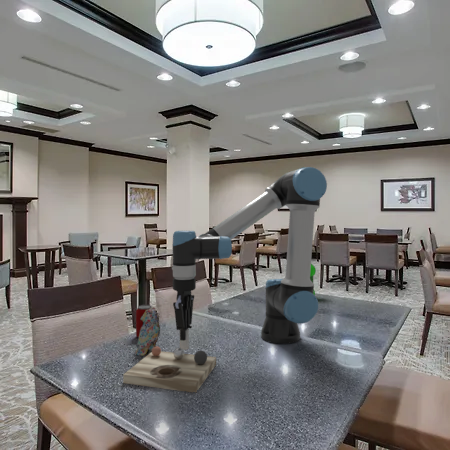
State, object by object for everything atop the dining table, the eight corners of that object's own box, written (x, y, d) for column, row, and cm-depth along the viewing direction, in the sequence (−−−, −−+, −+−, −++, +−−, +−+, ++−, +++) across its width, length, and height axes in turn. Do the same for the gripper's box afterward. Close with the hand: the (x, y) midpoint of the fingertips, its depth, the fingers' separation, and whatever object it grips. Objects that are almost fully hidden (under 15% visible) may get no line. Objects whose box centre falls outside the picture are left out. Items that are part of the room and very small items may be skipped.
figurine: (133, 348, 129) (132, 307, 129) (157, 344, 133) (157, 304, 133) (137, 356, 121) (136, 312, 121) (163, 352, 125) (162, 310, 125)
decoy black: (208, 362, 111) (208, 349, 111) (204, 367, 107) (204, 354, 107) (196, 360, 112) (196, 348, 112) (192, 366, 108) (192, 352, 108)
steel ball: (185, 357, 114) (185, 346, 114) (181, 361, 111) (181, 350, 111) (175, 356, 115) (175, 345, 115) (171, 360, 112) (171, 349, 112)
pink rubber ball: (162, 354, 117) (162, 345, 117) (158, 358, 114) (158, 348, 114) (154, 353, 118) (154, 344, 118) (150, 357, 115) (149, 347, 115)
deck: (153, 357, 121) (153, 350, 120) (216, 364, 115) (216, 357, 115) (123, 383, 102) (123, 374, 102) (196, 392, 96) (195, 383, 96)
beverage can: (149, 340, 138) (149, 309, 138) (133, 339, 139) (132, 308, 139) (156, 334, 144) (156, 305, 144) (140, 333, 146) (140, 304, 146)
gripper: (181, 274, 125) (181, 341, 125) (165, 280, 112) (165, 354, 113) (201, 275, 123) (201, 343, 123) (187, 281, 110) (187, 357, 111)
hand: (184, 348), depth 118 cm, fingers closed
